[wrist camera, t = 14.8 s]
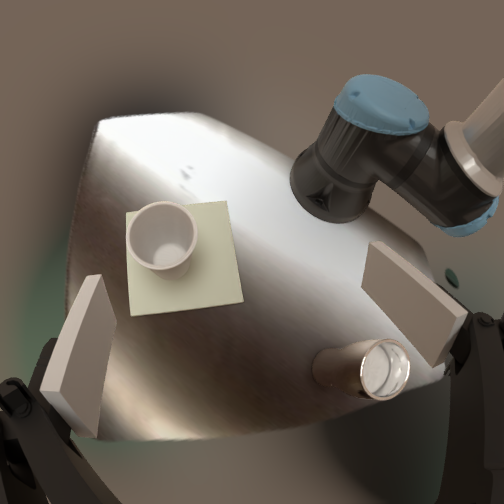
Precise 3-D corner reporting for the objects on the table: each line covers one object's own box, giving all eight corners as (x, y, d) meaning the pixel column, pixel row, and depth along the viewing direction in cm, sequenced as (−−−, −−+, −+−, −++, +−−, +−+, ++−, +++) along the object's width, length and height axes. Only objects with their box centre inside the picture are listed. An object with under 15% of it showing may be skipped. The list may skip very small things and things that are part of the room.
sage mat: (226, 203, 46) (226, 200, 45) (242, 302, 41) (243, 301, 40) (127, 215, 43) (126, 212, 42) (132, 316, 38) (130, 315, 37)
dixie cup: (196, 292, 39) (192, 273, 30) (138, 285, 38) (118, 264, 29) (202, 237, 42) (202, 203, 33) (148, 231, 41) (134, 197, 32)
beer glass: (302, 353, 39) (350, 351, 25) (343, 338, 41) (402, 327, 27) (315, 397, 37) (368, 413, 23) (355, 379, 39) (417, 384, 25)
